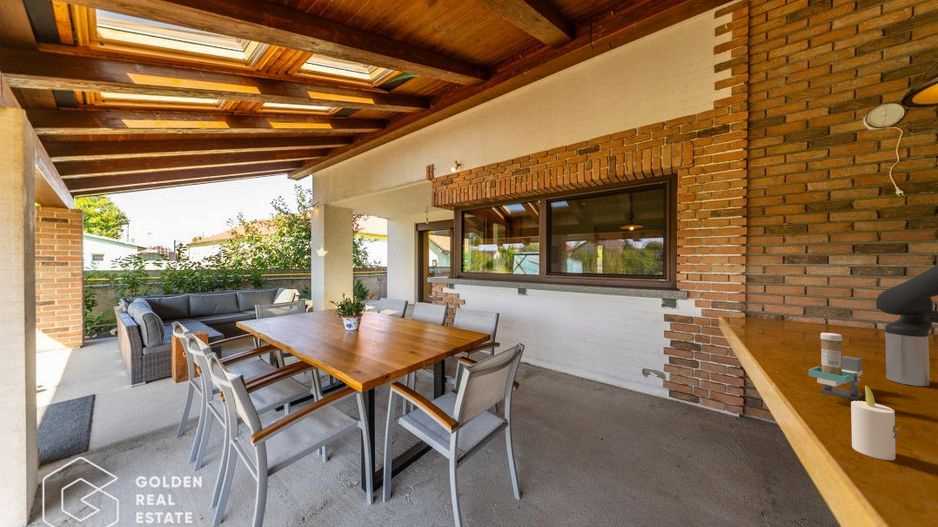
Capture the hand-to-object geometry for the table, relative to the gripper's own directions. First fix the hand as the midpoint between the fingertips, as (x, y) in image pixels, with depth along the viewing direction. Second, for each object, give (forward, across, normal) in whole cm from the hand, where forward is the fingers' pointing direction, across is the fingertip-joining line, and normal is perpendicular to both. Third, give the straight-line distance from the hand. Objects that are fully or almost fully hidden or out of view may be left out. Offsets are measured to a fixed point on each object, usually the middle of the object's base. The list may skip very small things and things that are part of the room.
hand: (927, 315), depth 92 cm
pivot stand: (+16, +1, +28) cm, 33 cm away
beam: (+17, +1, +23) cm, 29 cm away
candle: (+1, +41, +28) cm, 50 cm away
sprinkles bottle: (+16, +10, +21) cm, 28 cm away
